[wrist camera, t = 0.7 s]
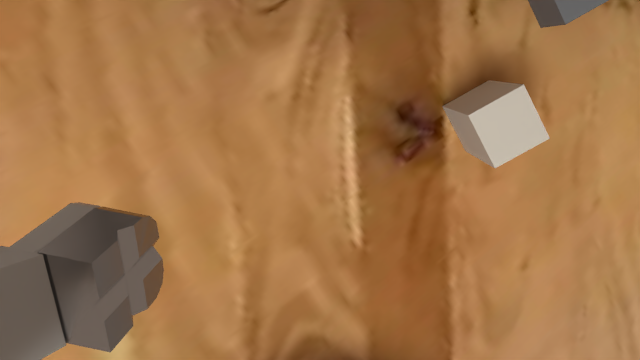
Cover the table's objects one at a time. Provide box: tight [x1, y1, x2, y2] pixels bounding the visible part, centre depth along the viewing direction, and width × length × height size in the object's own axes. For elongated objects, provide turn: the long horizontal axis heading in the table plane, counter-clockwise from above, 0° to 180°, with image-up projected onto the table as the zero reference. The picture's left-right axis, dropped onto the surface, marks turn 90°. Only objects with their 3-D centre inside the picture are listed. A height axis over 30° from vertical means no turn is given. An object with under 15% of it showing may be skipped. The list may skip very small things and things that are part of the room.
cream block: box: [442, 80, 550, 168], centre depth 45 cm, size 4×4×8 cm
